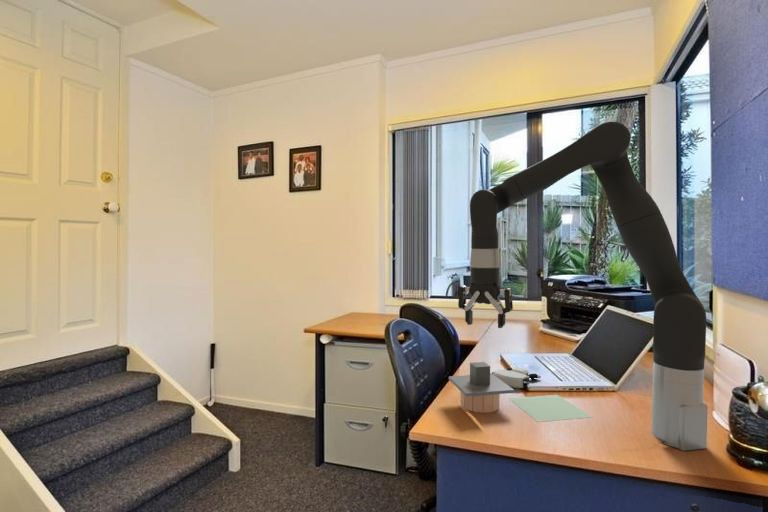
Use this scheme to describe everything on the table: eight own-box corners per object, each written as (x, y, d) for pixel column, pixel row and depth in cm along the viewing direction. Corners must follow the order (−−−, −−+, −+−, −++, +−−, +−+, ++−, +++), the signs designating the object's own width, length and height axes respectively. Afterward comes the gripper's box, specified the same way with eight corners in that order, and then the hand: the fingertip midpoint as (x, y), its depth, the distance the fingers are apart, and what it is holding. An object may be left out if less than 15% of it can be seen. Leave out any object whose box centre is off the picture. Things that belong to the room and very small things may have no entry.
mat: (592, 420, 102) (592, 416, 102) (537, 425, 99) (537, 421, 99) (557, 397, 117) (557, 394, 117) (508, 401, 114) (508, 398, 114)
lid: (514, 392, 105) (514, 370, 104) (466, 396, 102) (466, 373, 102) (491, 376, 117) (491, 356, 117) (448, 379, 115) (448, 358, 115)
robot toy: (506, 376, 138) (484, 385, 126) (507, 363, 138) (485, 370, 127) (543, 385, 129) (523, 395, 118) (543, 371, 129) (523, 379, 118)
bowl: (506, 414, 106) (506, 391, 106) (469, 417, 104) (469, 394, 104) (489, 399, 116) (489, 378, 116) (455, 401, 114) (456, 380, 114)
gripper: (515, 265, 108) (515, 326, 109) (465, 264, 116) (465, 321, 117) (506, 267, 102) (506, 331, 102) (454, 265, 110) (454, 325, 110)
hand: (484, 325), depth 110 cm, fingers open, 8 cm apart
